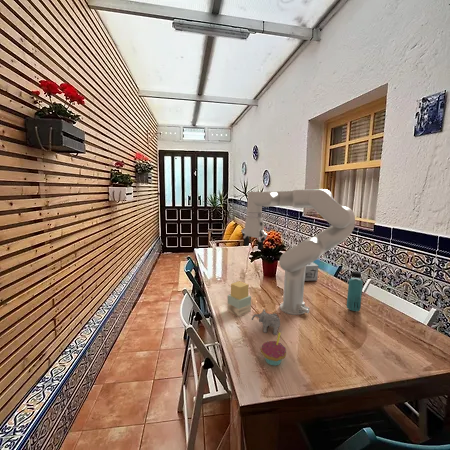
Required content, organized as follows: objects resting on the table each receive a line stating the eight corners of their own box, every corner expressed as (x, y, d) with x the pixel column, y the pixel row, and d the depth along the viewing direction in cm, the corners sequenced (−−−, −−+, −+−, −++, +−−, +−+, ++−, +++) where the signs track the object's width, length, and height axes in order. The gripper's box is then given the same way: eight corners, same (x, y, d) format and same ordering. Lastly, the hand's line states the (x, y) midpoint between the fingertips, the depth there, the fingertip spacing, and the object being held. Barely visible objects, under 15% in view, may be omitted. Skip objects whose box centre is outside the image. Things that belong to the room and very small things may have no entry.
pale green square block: (250, 304, 125) (251, 296, 125) (238, 309, 120) (238, 300, 119) (239, 298, 131) (239, 291, 131) (227, 303, 126) (227, 295, 126)
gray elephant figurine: (282, 336, 105) (282, 319, 104) (252, 335, 105) (253, 318, 104) (278, 324, 114) (278, 308, 113) (250, 324, 114) (251, 307, 113)
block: (248, 296, 125) (248, 284, 124) (239, 299, 121) (240, 287, 120) (239, 292, 129) (239, 280, 128) (230, 295, 125) (231, 283, 124)
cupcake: (282, 354, 93) (283, 323, 92) (288, 371, 85) (290, 337, 83) (258, 354, 93) (259, 323, 91) (262, 371, 85) (264, 337, 83)
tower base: (250, 312, 126) (250, 304, 125) (238, 317, 120) (239, 309, 120) (239, 306, 132) (239, 298, 131) (227, 310, 126) (227, 303, 126)
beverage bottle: (352, 315, 124) (356, 275, 121) (342, 308, 130) (346, 270, 127) (363, 313, 126) (367, 274, 123) (353, 307, 132) (357, 269, 129)
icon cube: (317, 280, 170) (318, 265, 169) (302, 280, 169) (303, 266, 168) (310, 275, 180) (311, 261, 179) (296, 275, 179) (297, 261, 177)
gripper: (272, 216, 131) (270, 249, 133) (247, 213, 143) (246, 243, 146) (262, 217, 126) (261, 251, 128) (237, 214, 138) (236, 245, 141)
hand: (253, 247), depth 137 cm, fingers open, 9 cm apart
